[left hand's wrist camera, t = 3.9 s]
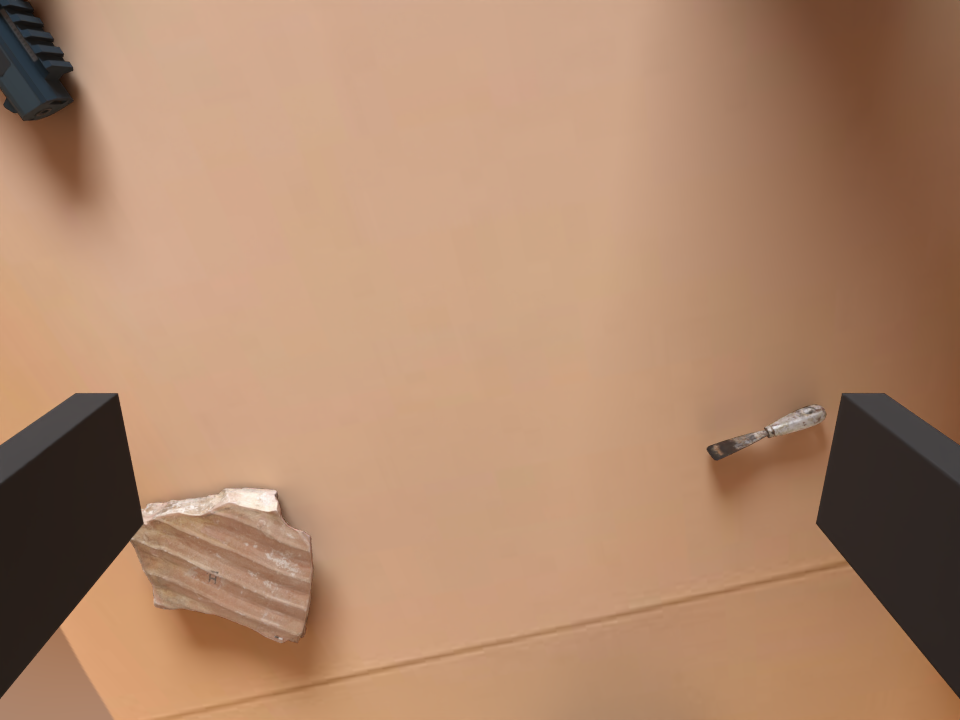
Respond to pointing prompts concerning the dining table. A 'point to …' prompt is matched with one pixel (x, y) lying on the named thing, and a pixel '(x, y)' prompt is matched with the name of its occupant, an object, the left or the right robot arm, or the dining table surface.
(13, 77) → the handgun
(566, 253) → the dining table surface
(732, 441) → the putty knife
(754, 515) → the dining table surface
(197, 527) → the stone
